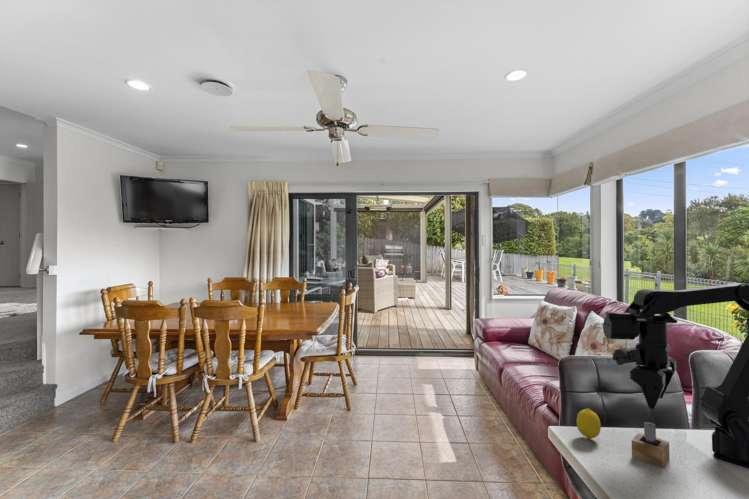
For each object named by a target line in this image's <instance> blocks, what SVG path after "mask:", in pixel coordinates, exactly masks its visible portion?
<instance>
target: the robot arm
mask: <svg viewBox="0 0 749 499" xmlns="http://www.w3.org/2000/svg"><path fill="white" fill-rule="evenodd" d="M728 302H734V303H735V304H736V305H737V306H738V307H740V308H741V309H743V311H746V312H748V313H747V317H746V323H747V331H748V332H747V334H746V337H745V339H744V340H743V343H742V344H741V346H740V348H739V349H738V352H737V354H736V356H735V358H734V360H733V362H732V364H731V365H730V367H729V369H728V371H727V373H726V375H725V377H724V379H723V381H722V383H721V384H720V385H718V386H716V387H715V388H713V387H710V386H706V388H705V389H704V393H703V395H702V396H701V397H700V398H699V399H698V400H699V401H700V406H699V407H700V409H701V411H702V413H703V415H704V416H705V417H707V418H708V421H709V423H710V424H711V425H713V426H715V428H714V431H712V434H711V450H712V452H714V453H713V457H714V458H716V459H719V460H722V461H726V462H729V463H731V464H735V465H738V466H741V467H745V468H747V469H748V468H749V284H747V283H739V282H738V283H737V282H730V283H727V284H721V285H710V286H704V287H703V286H702V287H694V288H686V289H685V288H684V289H676V290H674V289H673V290H672V289H670V290H669V289H657V288H655V289H654V288H653V289H651V288H648V289H647V288H644V289H643V288H642V289H640V290H637V291H636V293H635V294H634V297H633V300H632V301H631V303H630V304H629V305H628V306H627V308H626V309H625V310H624V312H612V311H606V312H605V316H604V319H603V322H602V331H603V334H604V336H605V338H606V339H607V340H628V341H629V340H635V339H636V338H638V343H636V344H635V347H629V348H623V347H621V348H616V349H614V351H613V352H612V360H613V361H615V363H616V365H617V366H622V365H624V364H631V363H635V365H636V366H635V367H633V368H631V370H630V371H629V378H630V380H631V381H632V382H633V383H636V384H637V385H638V386H639V387H640V388H641V391H642V394H643V396H644V398H645V401H646V404H647V407H648V409H652V410H655V409H656V407H657V404H658V401H659V400H660V399H663V398H664V395H665V393H666V392H667V390H668V387H669V386H670V383H671V381H672V379H673V377H674V376H675V375H674V374H675V373H676V370H677V368H678V367H677V366H678V365H677V360H676V359H675V358H674V357H672V356H669V350H670V348H671V347H670V344H669V343H668V324H677V323H678V320H677V319H675V317H673V316H671V314H670V313H671V312H675V311H678V310H679V309H681V308H684V307H685V308H686V307H690V306H691V307H692V306H699V305H700V306H701V305H711V304H719V303H728ZM669 368H671V369H669Z"/></svg>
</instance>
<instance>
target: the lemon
mask: <svg viewBox="0 0 749 499" xmlns="http://www.w3.org/2000/svg"><path fill="white" fill-rule="evenodd" d="M601 425H602V424H601V420H600V418H599V416H598V414H597V413H596V412H594V411H593V410H591V409H590V408H585V409H582V410H580V411H579V412H578V413H577V416H576V427H577V430H578V432H579V433H580V434H581V435H582V436H584V437H585V438H586V439H587V440H592V439H593V438H594V439H595V438H597V437H598V436H599V435H600V434H601V428H602V426H601Z"/></svg>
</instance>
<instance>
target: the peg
mask: <svg viewBox="0 0 749 499" xmlns="http://www.w3.org/2000/svg"><path fill="white" fill-rule="evenodd" d="M656 428H657V427H656V424H655V423H653V422H649V421H644V422H643V434H644V441H645V443H648V444H652V445H655V446H656V438H657V431H656Z"/></svg>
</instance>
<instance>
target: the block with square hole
mask: <svg viewBox="0 0 749 499" xmlns="http://www.w3.org/2000/svg"><path fill="white" fill-rule="evenodd" d="M631 458H633V459H636V460H640V461H642V462H645V463H648V464H651V465H653V466H657V467H659V468H662V469H664V468H665V466H666V465H667V464H668V462H669V460H670V441H669V440H664V439H662V438H658V437H656V446H655V445H652V444H648V443H645V441H644V432H643V433H642V432H637V434H636V435H635V436H634V437H633V438H632V439H631Z"/></svg>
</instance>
